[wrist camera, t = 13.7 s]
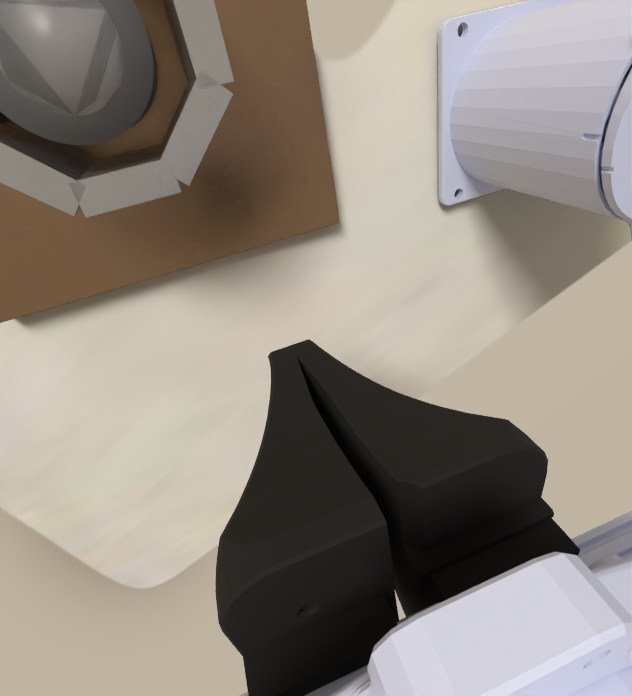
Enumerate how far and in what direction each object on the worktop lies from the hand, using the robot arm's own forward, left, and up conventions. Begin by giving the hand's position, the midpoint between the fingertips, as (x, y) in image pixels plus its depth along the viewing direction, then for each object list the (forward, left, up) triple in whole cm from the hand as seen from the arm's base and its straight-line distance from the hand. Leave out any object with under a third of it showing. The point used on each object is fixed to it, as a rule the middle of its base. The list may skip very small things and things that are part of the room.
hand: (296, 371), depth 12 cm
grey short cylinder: (+3, -9, -9) cm, 13 cm away
